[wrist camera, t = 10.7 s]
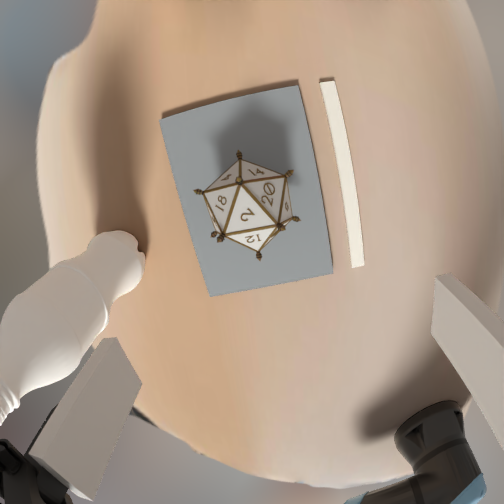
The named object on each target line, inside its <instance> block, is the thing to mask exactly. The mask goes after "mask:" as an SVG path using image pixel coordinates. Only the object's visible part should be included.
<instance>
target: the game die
mask: <svg viewBox="0 0 504 504" xmlns="http://www.w3.org/2000/svg"><path fill="white" fill-rule="evenodd" d="M236 155H237V158H238V160H237V161H236V162H235V163H234V164H233V165H232V166H231V167H230V168H228V169H227V170H226V171H225V172H224V173H223V174H222V175H221V176H220V177H219V178H217V179H216V180H215V181H214V182H213V183H212V184H211V185H210V186H209V187H208V188H207V189H205V190H204V191H202V190H201V189H195V190H193V191H194V192H195V193H196V195H197V194H198V195H203V197H204V200H205V203H206V206H207V209H208V211H209V214H210V217H211V220H212V223H213V226H214V228H215V231H213V232H211V237H213V238H214V237H216V236H217V234H219V236H218V237H217V243H219V242H223V240H225V239H224V238H227V239H229V240H232V241H234V242H236V243H238V244H240V245H242V246H245V247H247V248H249V249H251V250H253V251H255V252H256V258H257V259H258V260H259V261H261V258H262V254H261V253H260V251H261V250H262V249H263V248H264V247H265V246H266V245H267V244H268V243H269V242H270V241H271V240H272V239H273V238H274V237H275V236H276V235H277V234H278V233H279V232H280V231H284V230H286V229H285V227H286V225H287V224H288V223H289V222H290V221H291V220H293V221H296V222H298V221H301V220H300V218H299V217H297V216H293V215H292V208H291V201H290V195H289V188H288V182H287V177H290V176H291V175H293V172H294V170H288V171H287V172H286V173H285V175H284V174H281V173H279V172H276V171H273V170H271V169H268V168H265V167H263V166H260V165H257V164H254V163H252V162H249V161H246V160H243V159H242V156H243V155H242V153H241V152H240V151H239V150H238V151H237V153H236Z"/></svg>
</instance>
